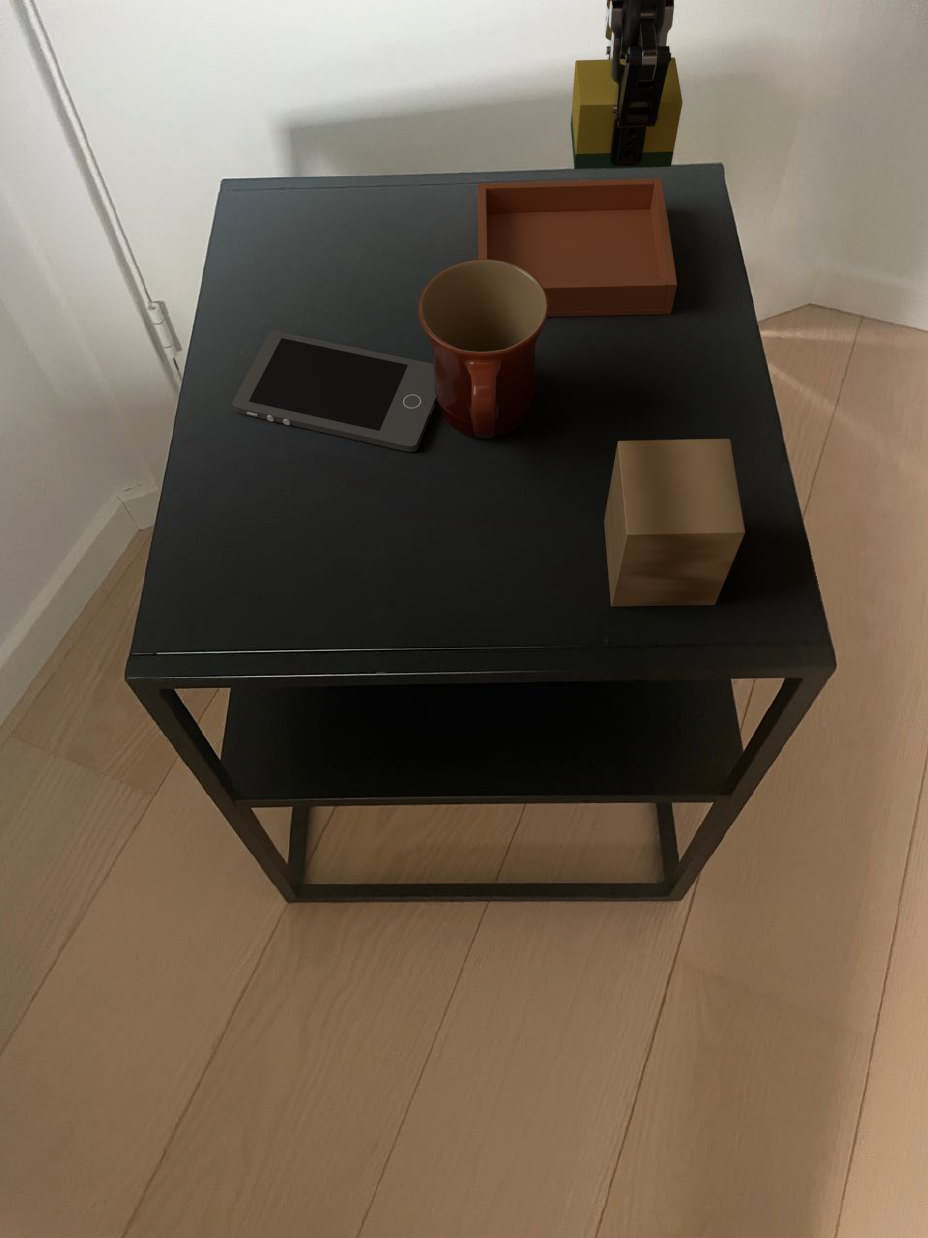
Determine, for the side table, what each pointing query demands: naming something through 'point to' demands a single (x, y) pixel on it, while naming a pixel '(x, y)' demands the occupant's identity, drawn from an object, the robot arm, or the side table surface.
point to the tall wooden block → (671, 522)
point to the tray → (584, 242)
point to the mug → (484, 343)
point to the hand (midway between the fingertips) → (622, 135)
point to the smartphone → (339, 391)
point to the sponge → (597, 118)
